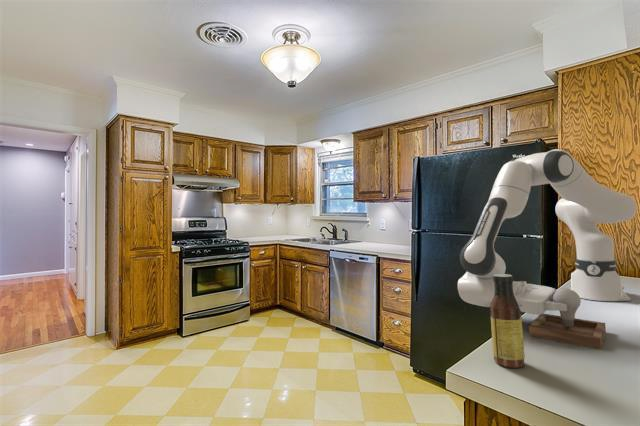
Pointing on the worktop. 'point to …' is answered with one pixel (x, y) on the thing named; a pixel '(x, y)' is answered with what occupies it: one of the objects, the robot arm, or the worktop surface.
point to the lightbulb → (573, 304)
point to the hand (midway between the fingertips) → (570, 303)
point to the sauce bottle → (506, 324)
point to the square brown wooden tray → (569, 330)
